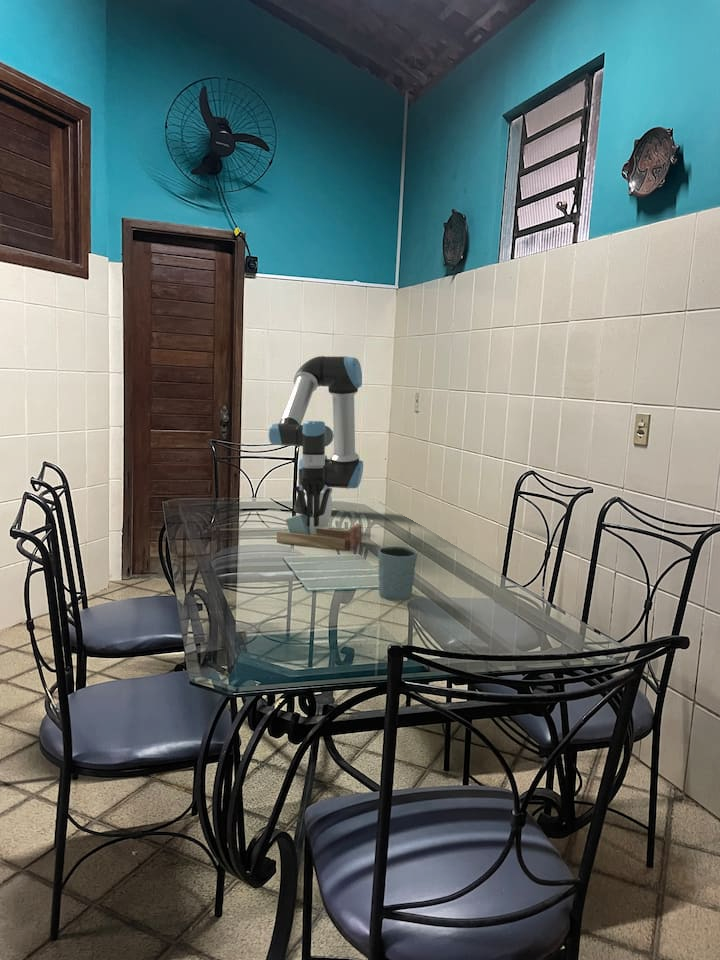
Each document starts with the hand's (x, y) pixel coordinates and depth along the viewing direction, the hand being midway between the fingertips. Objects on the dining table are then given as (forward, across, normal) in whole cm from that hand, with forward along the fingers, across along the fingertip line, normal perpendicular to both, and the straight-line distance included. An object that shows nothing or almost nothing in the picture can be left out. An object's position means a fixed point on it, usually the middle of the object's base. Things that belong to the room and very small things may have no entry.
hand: (313, 535), depth 236 cm
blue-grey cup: (+5, +41, -45) cm, 61 cm away
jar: (+2, -6, +19) cm, 20 cm away
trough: (+2, +2, +1) cm, 3 cm away
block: (+1, -4, 0) cm, 4 cm away
